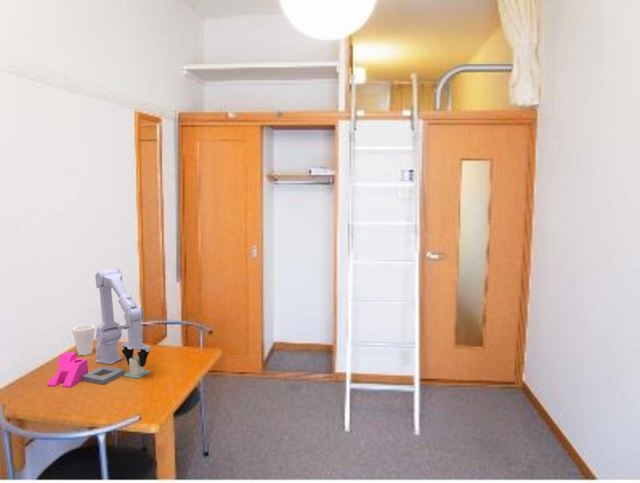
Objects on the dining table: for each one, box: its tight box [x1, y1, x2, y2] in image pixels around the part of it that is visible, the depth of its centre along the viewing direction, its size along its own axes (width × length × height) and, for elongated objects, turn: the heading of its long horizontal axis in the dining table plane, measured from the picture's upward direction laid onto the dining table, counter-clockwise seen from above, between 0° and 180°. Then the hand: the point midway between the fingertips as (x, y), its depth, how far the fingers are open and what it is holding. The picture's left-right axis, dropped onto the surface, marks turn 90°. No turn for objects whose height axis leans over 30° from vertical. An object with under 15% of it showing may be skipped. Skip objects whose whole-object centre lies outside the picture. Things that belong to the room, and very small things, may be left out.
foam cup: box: [72, 324, 95, 356], centre depth 235 cm, size 10×9×13 cm
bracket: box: [46, 351, 89, 389], centre depth 202 cm, size 12×10×10 cm
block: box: [128, 355, 145, 376], centre depth 210 cm, size 4×4×7 cm
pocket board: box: [81, 365, 126, 385], centre depth 207 cm, size 12×12×2 cm
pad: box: [122, 369, 152, 380], centre depth 210 cm, size 8×8×1 cm
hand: (136, 365), depth 210 cm, fingers open, 6 cm apart
